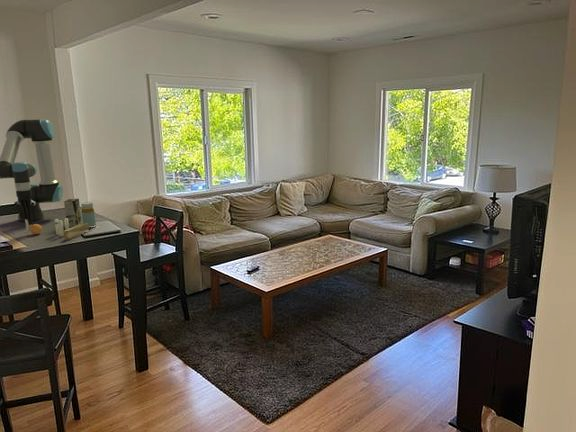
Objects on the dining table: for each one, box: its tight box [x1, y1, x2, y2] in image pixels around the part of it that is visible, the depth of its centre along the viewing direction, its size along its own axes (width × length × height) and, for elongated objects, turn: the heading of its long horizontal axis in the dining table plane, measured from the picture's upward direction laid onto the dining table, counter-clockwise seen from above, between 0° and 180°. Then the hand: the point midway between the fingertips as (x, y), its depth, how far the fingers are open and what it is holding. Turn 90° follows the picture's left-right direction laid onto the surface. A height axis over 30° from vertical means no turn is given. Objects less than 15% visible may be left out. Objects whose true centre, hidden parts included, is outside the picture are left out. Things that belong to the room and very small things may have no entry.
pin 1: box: [58, 219, 64, 237], centre depth 245 cm, size 2×2×9 cm
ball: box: [30, 223, 43, 235], centre depth 251 cm, size 6×6×6 cm
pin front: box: [53, 218, 60, 236], centre depth 248 cm, size 2×2×9 cm
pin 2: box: [63, 217, 70, 230], centre depth 250 cm, size 2×2×9 cm
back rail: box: [63, 222, 90, 241], centre depth 247 cm, size 3×18×5 cm, turn 171°
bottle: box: [81, 201, 97, 226], centre depth 264 cm, size 7×7×15 cm
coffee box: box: [63, 198, 83, 228], centre depth 270 cm, size 9×6×16 cm
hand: (29, 230), depth 251 cm, fingers closed
